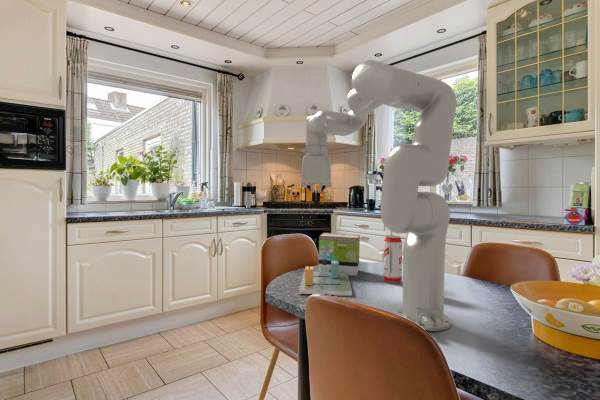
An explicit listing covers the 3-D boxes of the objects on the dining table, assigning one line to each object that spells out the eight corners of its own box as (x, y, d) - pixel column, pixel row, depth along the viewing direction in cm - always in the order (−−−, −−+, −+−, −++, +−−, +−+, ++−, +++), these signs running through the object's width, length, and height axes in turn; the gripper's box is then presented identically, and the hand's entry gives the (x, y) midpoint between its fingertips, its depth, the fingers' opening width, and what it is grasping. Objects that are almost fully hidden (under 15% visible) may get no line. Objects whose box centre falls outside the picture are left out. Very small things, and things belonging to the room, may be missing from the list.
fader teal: (338, 277, 119) (338, 263, 119) (331, 277, 119) (331, 263, 119) (338, 274, 124) (338, 260, 123) (331, 274, 124) (331, 260, 124)
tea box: (318, 273, 132) (318, 235, 132) (322, 268, 142) (322, 232, 142) (357, 276, 129) (358, 236, 128) (359, 270, 138) (360, 233, 138)
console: (352, 296, 104) (352, 290, 104) (299, 294, 105) (299, 289, 105) (346, 276, 128) (346, 272, 128) (303, 275, 129) (303, 271, 129)
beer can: (399, 279, 124) (400, 235, 124) (403, 284, 118) (404, 237, 117) (382, 279, 125) (382, 235, 124) (384, 283, 118) (385, 237, 118)
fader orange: (312, 285, 110) (313, 269, 110) (305, 284, 110) (305, 269, 110) (313, 281, 114) (313, 266, 114) (305, 281, 114) (305, 266, 114)
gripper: (294, 150, 118) (293, 204, 118) (338, 150, 117) (337, 204, 117) (296, 152, 125) (295, 203, 126) (337, 152, 124) (337, 203, 124)
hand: (316, 203), depth 121 cm, fingers closed
